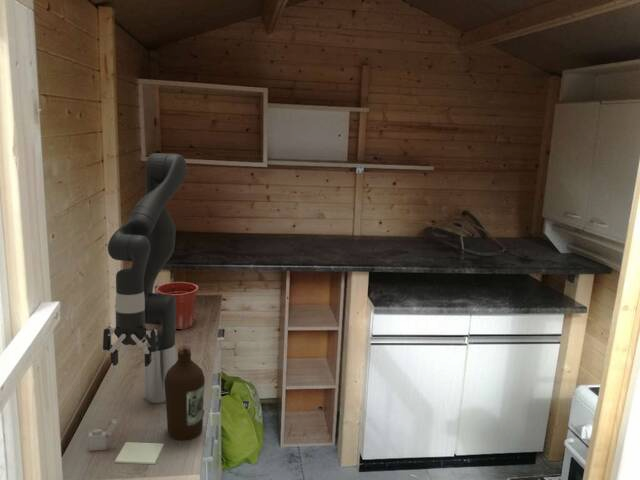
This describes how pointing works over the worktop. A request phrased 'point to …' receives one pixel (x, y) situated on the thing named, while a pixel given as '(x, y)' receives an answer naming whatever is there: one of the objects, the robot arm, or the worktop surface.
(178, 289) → the flower pot
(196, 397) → the olive oil
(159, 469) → the worktop surface
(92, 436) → the lighter
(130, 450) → the mat
